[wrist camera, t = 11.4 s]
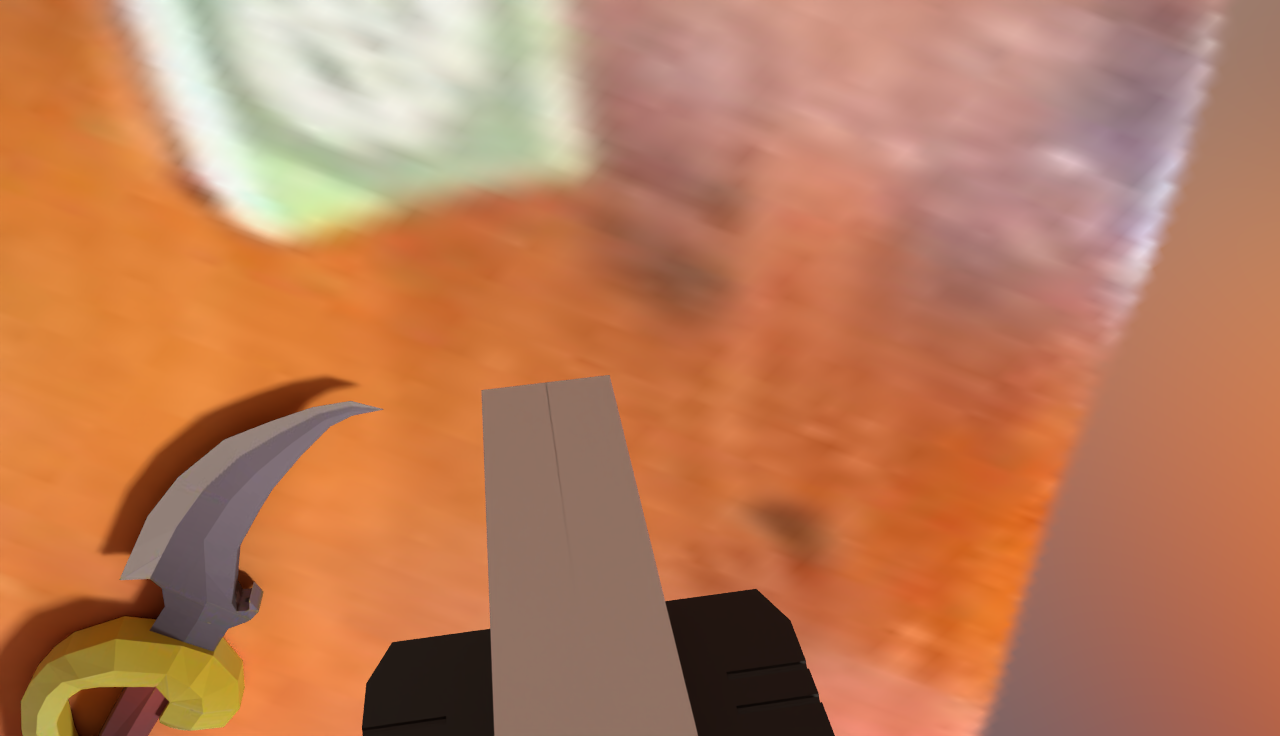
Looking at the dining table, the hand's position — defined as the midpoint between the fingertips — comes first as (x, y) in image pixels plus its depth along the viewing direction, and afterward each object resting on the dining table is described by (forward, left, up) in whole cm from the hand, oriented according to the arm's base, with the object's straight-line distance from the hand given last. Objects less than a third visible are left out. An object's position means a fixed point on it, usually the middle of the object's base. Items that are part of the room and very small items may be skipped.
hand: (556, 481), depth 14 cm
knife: (-15, -22, -29) cm, 40 cm away
